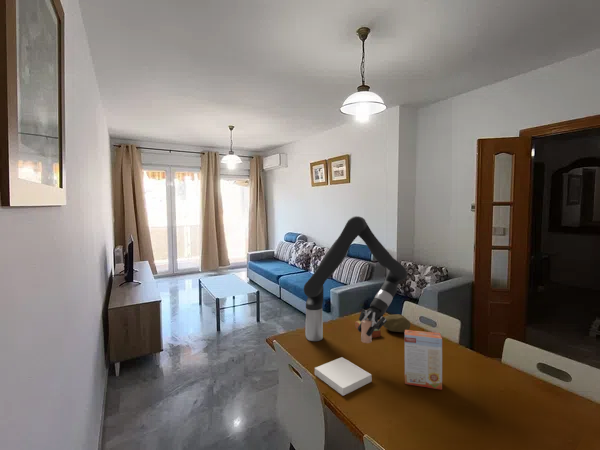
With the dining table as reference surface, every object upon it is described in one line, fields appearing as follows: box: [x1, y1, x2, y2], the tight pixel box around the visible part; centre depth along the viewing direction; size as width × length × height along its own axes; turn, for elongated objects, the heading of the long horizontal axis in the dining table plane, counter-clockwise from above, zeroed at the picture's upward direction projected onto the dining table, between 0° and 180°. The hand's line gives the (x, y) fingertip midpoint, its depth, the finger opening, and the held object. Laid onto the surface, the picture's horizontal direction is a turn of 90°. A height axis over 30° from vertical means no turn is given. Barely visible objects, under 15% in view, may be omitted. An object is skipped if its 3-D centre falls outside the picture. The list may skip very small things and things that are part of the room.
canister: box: [360, 320, 373, 344], centre depth 135 cm, size 5×5×9 cm
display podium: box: [314, 356, 373, 396], centre depth 125 cm, size 18×16×3 cm
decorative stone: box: [382, 313, 412, 333], centre depth 171 cm, size 17×11×10 cm, turn 56°
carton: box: [354, 320, 382, 339], centre depth 172 cm, size 8×16×4 cm, turn 15°
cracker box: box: [404, 329, 443, 390], centre depth 120 cm, size 14×6×21 cm, turn 71°
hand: (363, 333), depth 134 cm, fingers closed on canister, 4 cm apart
